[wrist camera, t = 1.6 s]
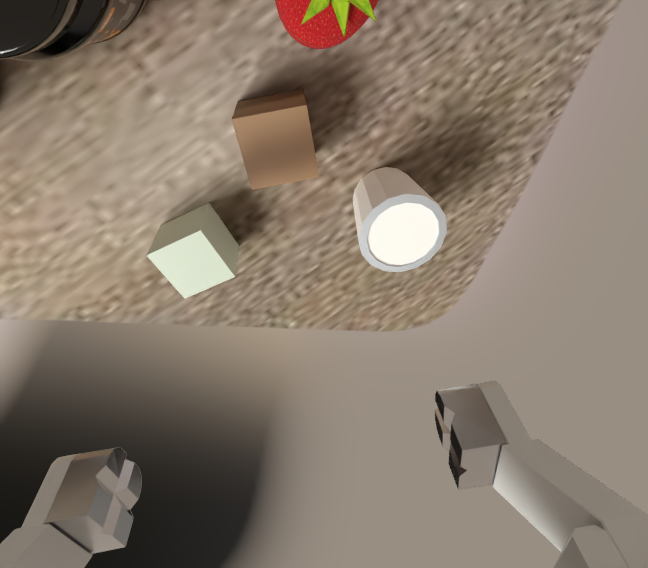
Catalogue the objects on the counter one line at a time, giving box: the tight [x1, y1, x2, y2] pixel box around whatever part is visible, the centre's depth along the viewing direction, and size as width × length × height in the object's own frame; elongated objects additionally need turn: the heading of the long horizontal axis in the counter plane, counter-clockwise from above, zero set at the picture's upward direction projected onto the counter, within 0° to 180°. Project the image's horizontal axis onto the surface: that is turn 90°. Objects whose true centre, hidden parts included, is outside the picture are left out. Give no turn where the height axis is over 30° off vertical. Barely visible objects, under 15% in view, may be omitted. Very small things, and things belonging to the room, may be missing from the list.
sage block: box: [147, 203, 239, 298], centre depth 35 cm, size 5×5×5 cm
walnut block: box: [232, 89, 319, 190], centre depth 30 cm, size 5×5×5 cm
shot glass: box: [353, 167, 447, 272], centre depth 33 cm, size 7×7×7 cm
